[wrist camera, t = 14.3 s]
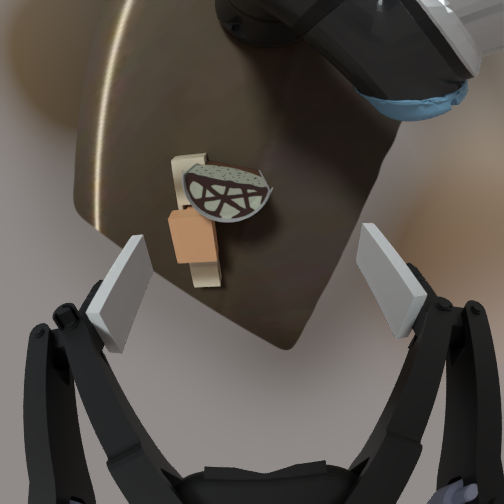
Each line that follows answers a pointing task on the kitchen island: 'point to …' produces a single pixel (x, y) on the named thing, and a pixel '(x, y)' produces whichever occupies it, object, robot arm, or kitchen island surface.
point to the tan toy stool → (193, 236)
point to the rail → (201, 271)
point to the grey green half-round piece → (225, 191)
